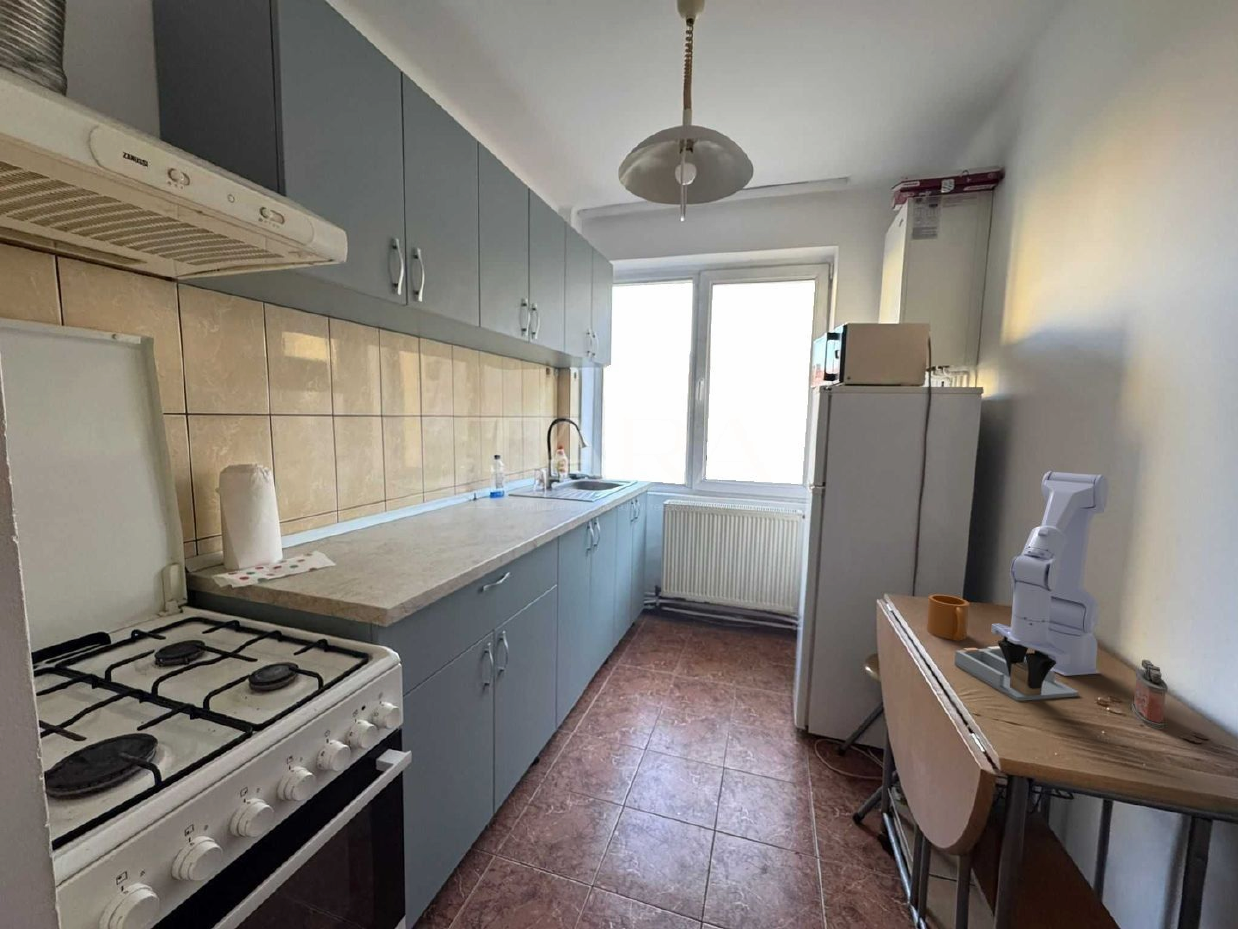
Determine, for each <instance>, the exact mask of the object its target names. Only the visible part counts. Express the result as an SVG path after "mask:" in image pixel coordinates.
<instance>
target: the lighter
mask: <svg viewBox="0 0 1238 929" xmlns="http://www.w3.org/2000/svg"><path fill="white" fill-rule="evenodd" d="M1141 666H1142V668H1143V669H1140V668H1139V669H1138V668H1137V669H1135V678H1136V679H1135V687H1134V697H1133V698H1134V699H1133V702H1132V703H1131V709H1132V712H1133V714H1134V716H1135V717H1136V718H1137V719H1138V720H1139V721H1140V722H1141V723H1143V724H1144V725H1146V726H1148V727H1151V728H1154V729H1158V730H1161V729H1164V725H1165V723H1164V720H1163V718H1164V709H1165V700H1166V694H1167V693H1168V686H1167V683H1166V682H1165V681H1164V679H1162V677H1163V676H1162V672H1161V669H1160V667H1159V666H1157V665H1154V664H1153V663H1152V662H1151V661H1150V660H1148V659H1143V660H1141Z"/></svg>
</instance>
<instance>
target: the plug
mask: <svg viewBox="0 0 1238 929" xmlns="http://www.w3.org/2000/svg"><path fill="white" fill-rule="evenodd" d="M1010 687H1011V688H1012V689H1014V690H1016V691H1018V692H1020V693H1021V694H1023V695H1025V696H1034V695H1041V691H1042V686H1041V688H1038V689H1031V688H1029V685H1028V664H1027V662H1023V663H1012V664H1011V676H1010Z"/></svg>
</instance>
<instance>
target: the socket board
mask: <svg viewBox="0 0 1238 929" xmlns="http://www.w3.org/2000/svg"><path fill="white" fill-rule="evenodd" d="M1024 662H1027V660H1026V657H1025V658H1024ZM954 665H955V666H956V667H957V668H959V669H960V670H963V671H965V672H966V673H968V674H970V675H971V676H973V677H975V678H977V679H978V680H980V681H982V682H984V683H985V684H987V685H989V686H990V687H992V688H994V689H996V690H998V692H1000V693H1002V694H1004V695H1006V696H1007V697H1010V698H1011V699H1013V700H1015V701H1016V702H1022V701H1023V702H1024V701H1032V700H1033V701H1034V700H1046V699H1057V698H1069V697H1071V698H1072V697H1080V691H1078V690H1076V689H1074V688H1072V687H1070V686H1069V685H1066V684H1064V683H1062V682H1060V681H1058V680H1056V679H1055V673H1056V672H1055V671H1054V670H1052V669H1051V670H1050V671H1049V672H1048V674H1047V675H1046V677H1045V679H1044V681H1043V683H1042V691H1041V695H1034V696H1025V695H1023V694H1021V693H1020V692H1018V691H1016V690H1014V689H1012V688H1011V687H1010V676H1009V672H1008V667H1007V663H1006V660H1005V657H1004V655H1003V652H1002V650H1001V649H1000V647H999V645H998V646H987V647H986V648H977V647H965V648H963V650H961V649H959V650H955V656H954Z"/></svg>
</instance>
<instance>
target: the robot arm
mask: <svg viewBox="0 0 1238 929" xmlns="http://www.w3.org/2000/svg"><path fill="white" fill-rule="evenodd" d="M1108 483H1109V482H1108V479H1107V477H1106V476H1105V475H1104V474H1087V473H1073V472H1057V471H1055V472H1054V471H1052V470H1049V471H1048V472H1045V474H1044V475H1043V478H1042V480H1041V487H1040V488H1041V494H1042V496H1043V499H1044V502H1045V503H1046V507H1045V510H1044V514H1043V517H1042V522H1041V525H1040V526H1037V527H1034V528H1032V530H1031V531H1030V534H1029V536H1028V539H1027V541H1026V542H1025V545H1024V548H1023V550H1022V552H1021V554H1020V555H1019V556H1018V555H1016V556H1014V557H1013V559H1012V562H1011V564H1010V569H1009V577H1010V580H1011V581H1010V582H1011V584H1010V586H1011V587H1010V588H1011V591H1012V592H1013V598H1012V609H1011V610H1012V611H1011V622H1010V626H1008V625H1005V624H1002V623H992V624H991V627H990V628H991V630H990V633H991V634H994V635H996V636H997V635H998V636H1000V637H1003V639H1002V640H998V641H997V645H998V646H999V647H1000V649H1001V650H1002V652H1003V655H1004V657H1005V660H1006V663H1007V667H1008V672H1009V676H1011V664H1012V663H1023V662H1024V658H1025V657H1026V660H1027V664H1028V685H1029V688H1031V689H1038V688H1041V686H1042V683H1043V681H1044V679H1045V677H1046V675H1047V674H1048V672H1049V671H1050V670H1051V669H1052V670H1054V671H1055V673H1057V674H1060V675H1062V676H1064V677H1067V676H1069V677H1070V676H1083V675H1095V674H1100V670H1097V669H1096V665H1097V664H1096V663H1097V654H1098V641H1097V638H1096V636H1095V635H1094V634H1093V633H1094V632H1095V631H1096V628H1097V626H1098V620H1099V608H1098V607H1099V602H1098V599H1097V598H1096V597H1095V596H1094V594H1091V592H1089V591H1088V590H1087V589H1085V588H1084V585H1083V584H1084V578H1085V569H1086V568H1085V567H1086V562H1087V554H1088V553H1087V552H1088V546H1089V545H1088V544H1089V539H1090V538H1089V537H1090V529H1091V523H1092V520H1093V518H1094V515H1097V514H1101V513H1104V512H1105V509H1106V506H1107V500H1108V491H1109V484H1108ZM1028 650H1032V651H1034V652H1028Z"/></svg>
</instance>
